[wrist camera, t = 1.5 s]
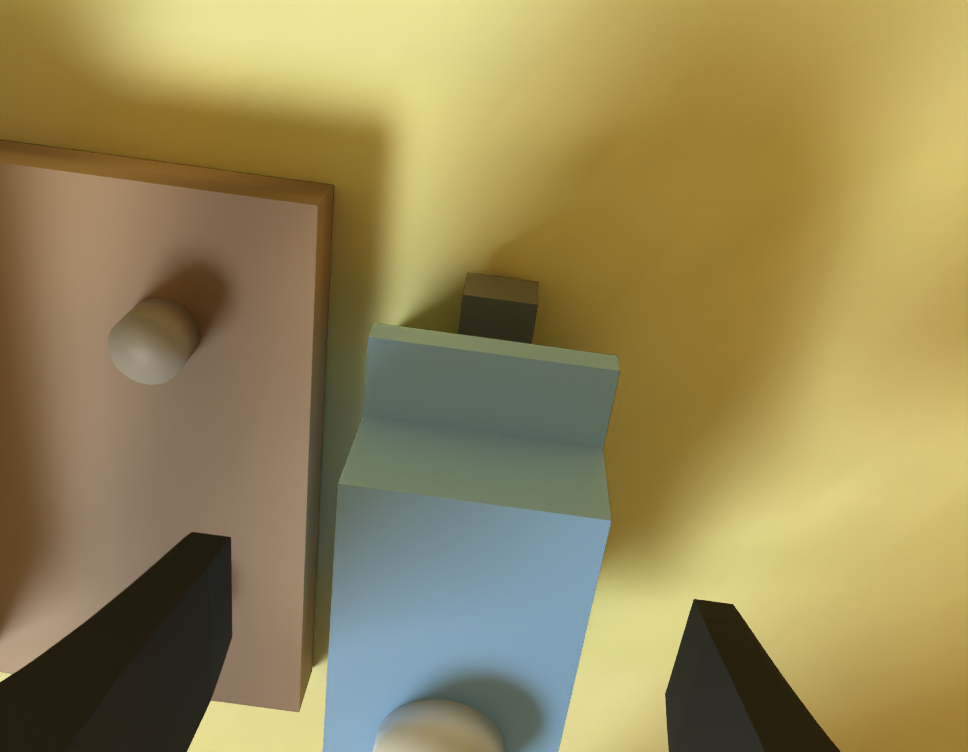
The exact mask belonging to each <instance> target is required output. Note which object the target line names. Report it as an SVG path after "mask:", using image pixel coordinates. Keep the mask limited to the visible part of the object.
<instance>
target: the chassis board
mask: <svg viewBox="0 0 968 752" xmlns="http://www.w3.org/2000/svg"><path fill="white" fill-rule="evenodd" d="M333 198H334V185H328V184H320V183H313V182H306V181H298V180H291V179H283V178H276V177H269V176H261V175H254V174H247V173H239V172H232V171H225V170H217V169H210V168H203V167H195V166H188V165H181V164H173V163H166V162H159V161H151V160H144V159H137V158H129V157H122V156H115V155H107V154H100V153H93V152H85V151H78V150H70V149H63V148H56V147H48V146H41V145H34V144H26V143H19V142H12V141H4V140H0V672H4V673H11V674H14V673H15V672H17V671H18V670H20V669H21V668H22V667H24V666H25V665H27V664H28V663H30V662H31V661H33V660H34V659H36V658H37V657H38V656H40V655H41V654H43V653H44V652H45V651H47V650H48V649H49V648H51V647H52V646H53V645H55V644H56V643H57V642H59V641H60V640H61V639H63V638H64V637H65V636H67V635H68V634H69V633H71V632H72V631H73V630H75V629H76V628H77V627H79V626H80V625H81V624H83V623H84V622H85V621H87V620H88V619H89V618H90V617H92V616H93V615H94V614H95V613H97V612H98V611H99V610H100V609H101V608H103V607H104V606H105V605H106V604H108V603H109V602H110V601H111V600H112V599H114V598H115V597H116V596H117V595H118V594H120V593H121V592H122V591H123V590H125V589H126V588H127V587H128V586H129V585H131V584H132V583H133V582H134V581H135V580H136V579H137V578H139V577H140V576H141V575H142V574H143V573H144V572H146V571H147V570H148V569H149V568H150V567H151V566H152V565H154V564H155V563H156V562H157V561H158V560H159V559H160V558H162V557H163V556H164V555H165V554H166V553H167V552H168V551H169V550H171V549H172V548H173V547H174V546H175V545H176V544H177V543H178V542H180V541H181V540H182V539H183V538H184V537H185V536H187V535H188V534H190V533H191V532H198V533H205V534H213V535H220V536H227V537H231V565H232V639H231V642H230V645H229V649H228V652H227V655H226V658H225V661H224V664H223V667H222V670H221V673H220V676H219V679H218V682H217V685H216V688H215V690H214V693H213V696H212V699H211V700H212V701H219V702H226V703H234V704H241V705H249V706H256V707H264V708H271V709H278V710H286V711H293V712H299V711H300V708H301V704H302V701H303V698H304V695H305V691H306V688H307V685H308V682H309V678H310V675H311V672H312V663H313V641H314V618H315V596H316V574H317V552H318V530H319V508H320V486H321V463H322V441H323V419H324V397H325V375H326V353H327V331H328V308H329V286H330V264H331V242H332V220H333Z"/></svg>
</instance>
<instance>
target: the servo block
mask: <svg viewBox="0 0 968 752" xmlns="http://www.w3.org/2000/svg"><path fill="white" fill-rule="evenodd" d="M537 306H538V282H533V281H526V280H518V279H511V278H504V277H496V276H489V275H482V274H474V273H467V278H466V283H465V287H464V292H463V298H462V307H461V315H460V323H459V332H458V334H454V333H446V332H439V331H432V330H424V329H417V328H410V327H402V326H395V325H387V324H380V323H374V324H373V326H372V329H371V331H370V333H369V336H368V345H367V360H366V374H365V389H364V403H363V416H362V419H361V422H360V424H359V427H358V430H357V433H356V435H355V438H354V441H353V444H352V446H351V449H350V452H349V455H348V457H347V460H346V463H345V465H344V468H343V471H342V474H341V476H340V479H339V482H338V490H337V508H336V525H335V543H334V561H333V579H332V597H331V614H330V632H329V650H328V668H327V686H326V703H325V721H324V739H323V752H558V751H559V746H560V742H561V738H562V733H563V729H564V725H565V720H566V716H567V712H568V707H569V703H570V699H571V694H572V690H573V686H574V681H575V677H576V673H577V668H578V664H579V660H580V655H581V651H582V647H583V642H584V638H585V633H586V629H587V625H588V620H589V616H590V612H591V607H592V603H593V599H594V594H595V590H596V586H597V581H598V577H599V573H600V568H601V564H602V560H603V555H604V551H605V547H606V542H607V538H608V533H609V529H610V525H611V513H610V504H609V495H608V486H607V478H606V469H605V460H604V451H603V447H604V442H605V438H606V433H607V428H608V424H609V419H610V414H611V410H612V405H613V400H614V396H615V391H616V386H617V382H618V377H619V372H620V369H619V363H618V357H617V356H616V355H608V354H601V353H594V352H586V351H579V350H572V349H564V348H557V347H549V346H542V345H535V344H531V343H532V337H533V331H534V324H535V318H536V312H537Z"/></svg>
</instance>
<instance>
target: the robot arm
mask: <svg viewBox="0 0 968 752" xmlns="http://www.w3.org/2000/svg"><path fill="white" fill-rule="evenodd" d="M231 639H232V565H231V537H227V536H220V535H213V534H205V533H198V532H191V533H190V534H188V535H187V536H185V537H184V538H183V539H182V540H181V541H180V542H178V543H177V544H176V545H175V546H174V547H173V548H172V549H171V550H169V551H168V552H167V553H166V554H165V555H164V556H163V557H162V558H160V559H159V560H158V561H157V562H156V563H155V564H154V565H152V566H151V567H150V568H149V569H148V570H147V571H146V572H144V573H143V574H142V575H141V576H140V577H139V578H137V579H136V580H135V581H134V582H133V583H132V584H131V585H129V586H128V587H127V588H126V589H125V590H123V591H122V592H121V593H120V594H118V595H117V596H116V597H115V598H114V599H112V600H111V601H110V602H109V603H108V604H106V605H105V606H104V607H103V608H101V609H100V610H99V611H98V612H97V613H95V614H94V615H93V616H92V617H90V618H89V619H88V620H87V621H85V622H84V623H83V624H81V625H80V626H79V627H77V628H76V629H75V630H73V631H72V632H71V633H69V634H68V635H67V636H65V637H64V638H63V639H61V640H60V641H59V642H57V643H56V644H55V645H53V646H52V647H51V648H49V649H48V650H47V651H45V652H44V653H43V654H41V655H40V656H38V657H37V658H36V659H34V660H33V661H31V662H30V663H28V664H27V665H25V666H24V667H22V668H21V669H20V670H18V671H17V672H15V673H14V674H12V675H11V676H9V677H8V678H6V679H5V680H3V681H1V682H0V752H187V750H188V748H189V746H190V744H191V742H192V739H193V737H194V735H195V733H196V731H197V729H198V727H199V725H200V722H201V720H202V718H203V716H204V714H205V712H206V710H207V707H208V705H209V703H210V701H211V699H212V696H213V693H214V690H215V688H216V685H217V682H218V679H219V676H220V673H221V670H222V667H223V664H224V661H225V658H226V655H227V652H228V649H229V645H230V642H231ZM665 697H666V715H667V732H668V745H669V752H840V750H839V749H838V748H837V747H836V746H835V744H834V743H833V742H832V741H831V740H830V738H829V737H828V736H827V735H826V733H825V732H824V731H823V729H822V728H821V727H820V726H819V724H818V723H817V722H816V720H815V719H814V718H813V716H812V715H811V714H810V712H809V711H808V710H807V708H806V707H805V706H804V704H803V703H802V702H801V700H800V699H799V698H798V696H797V695H796V694H795V692H794V691H793V690H792V688H791V687H790V685H789V684H788V683H787V681H786V680H785V678H784V677H783V676H782V674H781V673H780V671H779V670H778V668H777V667H776V666H775V664H774V663H773V661H772V660H771V658H770V657H769V656H768V654H767V653H766V651H765V650H764V648H763V647H762V645H761V644H760V642H759V641H758V640H757V638H756V637H755V635H754V634H753V632H752V631H751V629H750V628H749V626H748V625H747V623H746V622H745V620H744V619H743V618H742V616H741V615H740V613H739V612H738V610H737V609H736V608H735V606H734V605H733V604H727V603H720V602H712V601H705V600H697V599H694V600H693V604H692V607H691V610H690V614H689V617H688V620H687V624H686V627H685V630H684V634H683V637H682V640H681V644H680V647H679V650H678V654H677V657H676V660H675V664H674V667H673V670H672V674H671V677H670V680H669V684H668V687H667V690H666V694H665Z"/></svg>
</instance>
